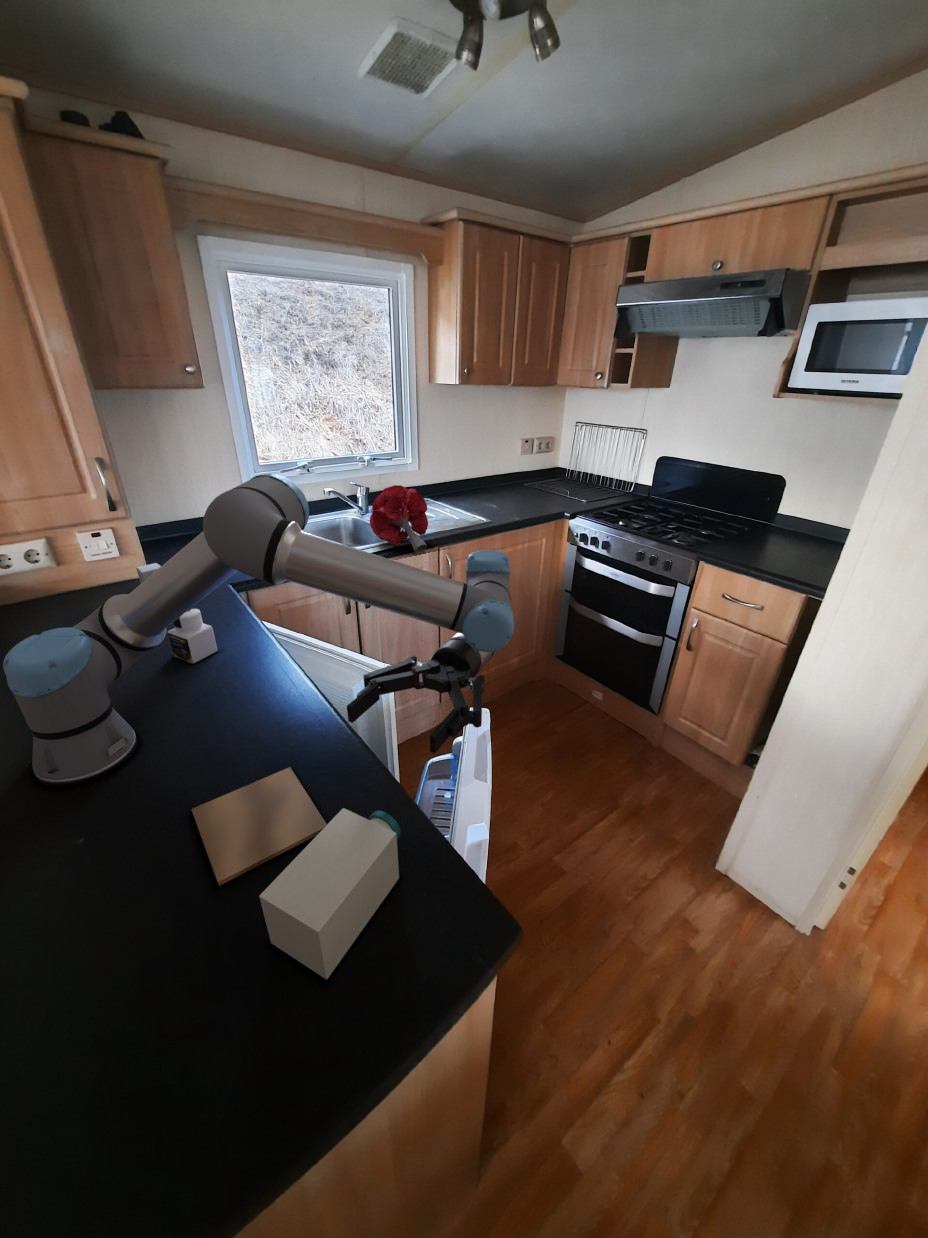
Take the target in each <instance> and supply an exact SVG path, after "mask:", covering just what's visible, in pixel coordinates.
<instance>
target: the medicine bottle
mask: <svg viewBox="0 0 928 1238" xmlns="http://www.w3.org/2000/svg"><path fill="white" fill-rule="evenodd" d="M172 624H173V626H174V628H172V629H169V630H167V636H168V639H169V642H170V646H171V650H172V653H173V656H174V657H175V658H177V659H180V660H183V661H185V662H187V663H191V664H195V663H197V662H199V661H202V660H203V659H205V658H207V657H209V656H211V655H213V654H215V653H216V652H218V650H219V649H218V645H217V642H216V637H215V633H214V629H213V626H212V625H210V624H206V623H204V621H203V617H202V613H201V610H200V609H199V608H198V607H195V606H193V607H192V608H191V609H189V610H188V611H187V612H186V613H184V614H183V615H182V616H181V617H179V618H178V619H177V620H176V621H174V622H173V623H172Z"/></svg>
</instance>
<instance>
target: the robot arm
mask: <svg viewBox="0 0 928 1238" xmlns="http://www.w3.org/2000/svg"><path fill="white" fill-rule="evenodd" d="M309 517H310V507H309V503H308V499H307V497H306V496H305V494H304V492H303V490H301V488H300V487H299V486H298V485H297V484H296V483H295V482H294V481H292V480H291V479H290V478H288V477H286V476H284V475H280V474H278V473H277V474H275V473H265V474H259V475H258V474H257V475H254V476H253V477H251V478H249V480H247V481H244V482H243V483H240V484H239V485H237V486H235V487H232V488H230V489H229V490H226V491H225V492H222V493H220V494H218V496H216V497H215V498H214V499H213V500H212V501H211V502H210V503H209V505H208V506H207V508H206V510H205V512H204V516H203V521H202V530H203V531H201V532H200V533H199V534H197V536H195V537H194V538H193V539H192V540H191V541H190V542H188V543H187V544H186V545H185V546H184V547H182V548H181V549H180V550H179V551H177V552H176V553H175V554H174V555H173V556H172V557H171V558H169V559H168V560H167V561H166V562H165V563H163V564H162V566H161V565H160V566H161V567H160V568H159V569H158V570H157V571H155V572H154V573H153V574H152V575H151V576H150V577H148V578H147V579H146V580H145V581H144V582H142V583H140V584H139V585H138V586H137V587H135V588H134V589H132V591H130V592H129V593H128V594H127V593H121V594H116V595H113V596H111V597H109V598H108V599H107V600H106V601H104V602H103V603H102V604H101V605H100V606H99V607H98V608H97V609H95V610H94V611H93V612H91V614H89V615H88V616H87V617H86V618H84V619H82V620H81V621H80V622H77V624H75V625H73V626H72V627H57V628H53V629H52V628H51V629H48V630H44V631H42V632H41V633H40V634H33V635H30V636H28V637H26V638H24V639H23V640H21V641H20V642H18V643H17V644H15V645H14V646H13V647H12V648H10V650H9V651H8V652H7V653H6V654H5V657H4V659H3V663H2V669H3V673H4V675H5V678H6V684H7V687H8V688H9V690H10V691H11V693H12V695H13V697H14V699H15V701H16V702H17V705H18V707H19V709H20V711H21V713H22V715H23V718H24V719H25V722H26V725H27V726H28V728H29V730H30V732H31V733H30V734H31V735H32V757H31V759H30V760H29V761H28V762H27V763H26V764H25V767H26V768H30V767H31V766H32V771H33V773H34V775H35V777H36V779H37V781H38V782H40V783H41V784H43V785H45V786H48V787H56V788H57V787H58V788H63V787H72V786H77V785H82V784H86V783H88V782H92V781H94V780H97V779H99V778H101V777H103V776H106V775H107V774H110V773H111V772H113V771H115V770H116V769H118V768H119V767H121V766H123V764H124V763H126V762H127V761H128V760H129V759H130V758H131V757H132V755H133V754H134V753H135V751H136V749H137V746H138V738H137V736H136V732H135V730H134V729H133V727H132V726H131V725H130V724H129V723H128V722H127V721H126V720H125V718H123V717H122V716H121V715H120V713H118V712H117V710H116V709H115V708H114V706H113V704H112V701H111V697H110V695H109V692H108V687H109V686H110V685H112V684H113V683H114V682H115V681H117V680H118V679H119V678H120V677H121V676H122V675H123V674H125V672H127V670H129V669H130V668H131V667H133V666H134V665H135V664H136V663H138V662H139V661H140V660H141V659H142V658H143V657H145V656H147V655H148V654H149V653H151V652H152V650H154V649H155V648H156V647H157V646H158V645H160V644H161V643H162V642H163V641H164V639H165V638H166V635H167V628H168V627H169V626H171V625H172V624H174V623H173V622H174V621H176V620H177V619H178V618H179V617H181V616H182V615H183V614H184V613H186V612H187V611H188V610H189V609H191V608H192V607H195V606H196V605H197V604H199V603H200V602H201V601H202V600H203V599H205V598H206V597H207V596H208V595H210V594H211V593H213V592H214V591H215V590H217V589H218V588H219V587H220V586H221V585H222V584H224V583H225V582H227V581H228V579H230V578H231V577H232V576H234V575H235V574H236V573H238V572H240V573H241V574H244V575H246V576H248V577H251V578H254V579H257V580H260V581H264V582H266V583H270V584H274V585H278V586H279V585H281V584H283V583H286V582H291V583H294V584H298V585H301V586H304V587H308V588H311V589H314V590H316V591H320V592H323V593H328V594H331V595H335V596H338V597H341V598H343V599H347V600H351V601H354V602H358V603H360V604H363V605H367V606H371V607H374V608H378V609H381V610H384V611H388V612H391V613H394V614H396V615H397V614H398V615H400V616H403V617H408V618H411V619H413V620H417V621H421V622H424V623H427V624H430V625H434V626H437V627H440V628H444V629H447V630H450V631H453V632H455V634H454V635H453V636H452V637H450V638H449V639H448V640H447V641H446V642H445V643H444V644H442V645H441V646H440V647H439V648H438V649H437V650H436V651H435V652H434V653H433V654H432V657H431V658H430V660H428V661H424V662H420V661H418V657H417V655H410V656H409V657H407V658H406V659H404V660H402V661H399V662H396V663H393V664H391V665H388V666H385V667H382V668H378V669H376V670H374V671H370V672H367V673H364V674H363V676H362V678H363V686H364V687H363V688H362V689H361V690H360V691H358V692H357V694H356V698H354V699H353V700H352V701H350V703H349V704H347V705H346V714H347V721H348V723H352V724H353V723H355V722H356V721H357V720H358V719H359V718H360V717H361V716H363V714H365V713H366V712H367V711H368V710H369V709H371V708H372V707H373V706H374V705H375V704H377V703H378V702H379V701H380V699H381V698H380V696H383V695H387V694H392V693H397V692H401V691H405V690H410V689H415V690H422V689H427V690H431V691H435V692H437V693H439V694H444V693H447V694H448V697H449V700H450V701H451V703H452V706H453V709H452V710H451V711H450V712H449V713H448V714H447V715H446V716H445V718H444V719H443V720H442V721H441V722H440V723H439V725H438V726H437V727H436V728H435V729H434V730H433V731H432V732H431V733H430V734H429V751H430V753H433V754H436V753H437V752H438V751H439V749H441V747H442V746H443V745H444V744H445V742H446V741H447V740H448V739H449V738H450V737H452V738H455V737H456V736H458V734H460V732H461V731H462V729H464V727H467V726H468V725H472V726H473V727H474V728H481V727H482V717H483V704H482V703H483V700H482V699H483V698H482V697H483V694H484V692H485V690H486V689H485V687H486V686H485V685H486V676H485V675H483V674H479V673H480V671H482V670H483V668H484V667H485V666H486V665H487V664H488V663H489V662H490V660H492V658H493V657H494V656H495V655H496V654H497V653H498V652H499V651H500V650H502V649H503V648H504V647H505V646H507V645H508V644H509V642H510V641H511V639H512V638H513V636H514V635H513V634H514V632H515V622H514V621H515V614H514V611H513V606H512V597H511V590H510V588H511V587H510V574H511V569H510V568H511V567H510V564H511V562H510V557H509V555H508V554H506V553H505V552H503V551H500V550H495V549H480V550H475V551H472V552H471V553H469V555H468V556H467V559H466V569H465V577H466V578H465V582H466V583H465V582H464V581H463V582H462V581H459V580H457V579H453V578H450V577H448V576H447V577H446V576H445V575H441V574H439V573H434V572H431V571H428V570H425V569H423V568H419V567H415V566H412V565H409V564H406V563H403V562H400V561H397V560H394V559H391V558H387V557H384V556H380V555H377V554H374V553H371V552H368V551H365V550H362V549H359V548H356V547H352V546H351V545H347V544H344V543H340V542H337V541H335V540H330V539H328V538H324V537H321V536H318V535H314V534H312V533H308V532H305V531H304V530H305V528H306V526H307V524H308V522H309ZM478 674H479V675H478ZM420 675H421V680H422V681H420ZM475 677H476V678H475ZM467 687H469V689H470V691H471V693H472V710H469V705H468V704H467V702H466V700H465V696H464V694H463V693H462V689H465V688H467Z"/></svg>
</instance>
